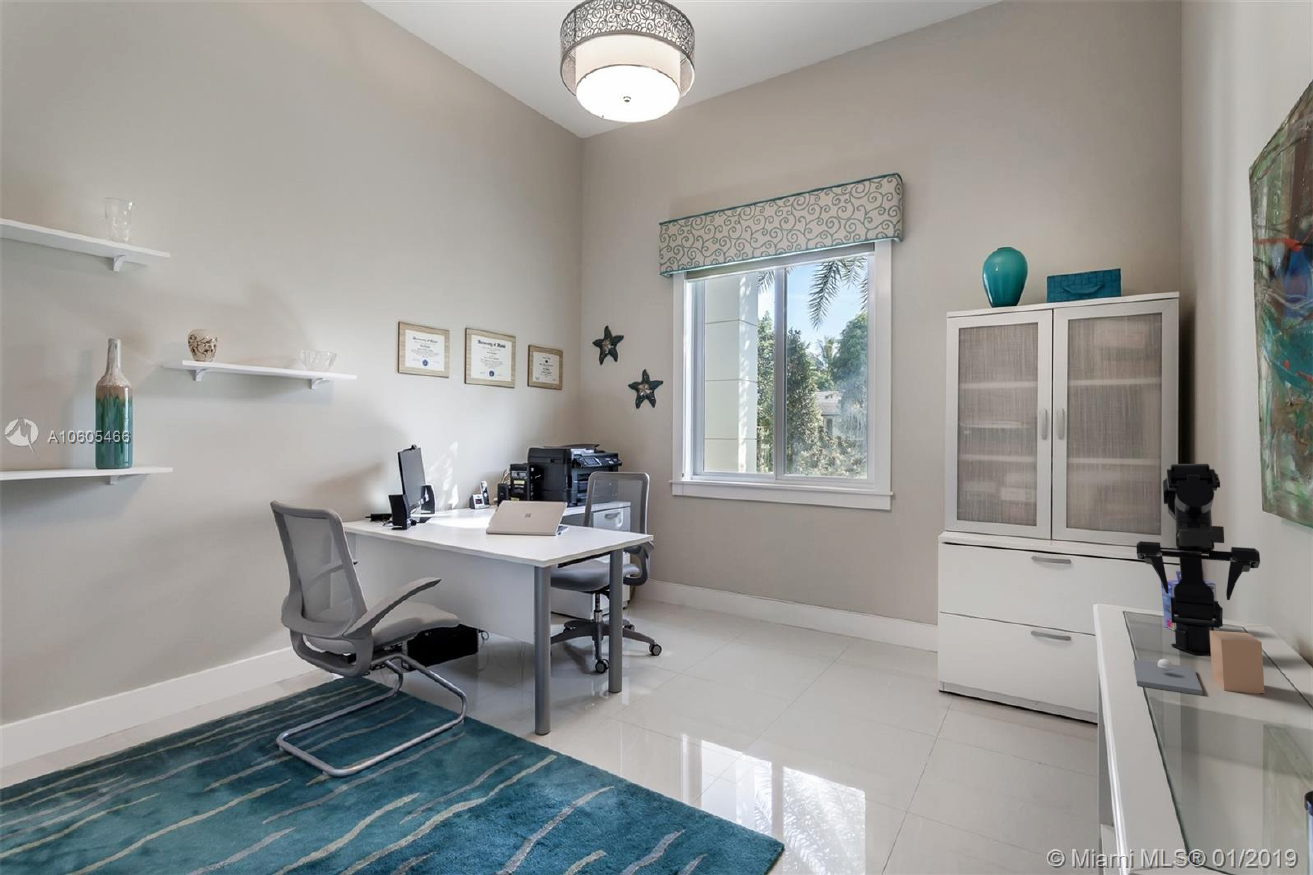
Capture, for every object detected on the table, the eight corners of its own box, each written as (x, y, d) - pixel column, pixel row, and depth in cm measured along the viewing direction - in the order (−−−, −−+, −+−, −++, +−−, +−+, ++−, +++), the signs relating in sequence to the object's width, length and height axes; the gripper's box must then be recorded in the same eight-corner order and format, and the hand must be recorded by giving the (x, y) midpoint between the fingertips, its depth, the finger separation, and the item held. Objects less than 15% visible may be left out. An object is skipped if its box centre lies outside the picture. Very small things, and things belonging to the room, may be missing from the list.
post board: (1133, 663, 136) (1132, 645, 136) (1193, 671, 131) (1192, 652, 131) (1137, 685, 125) (1136, 665, 125) (1202, 695, 119) (1201, 674, 119)
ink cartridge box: (1205, 626, 159) (1202, 570, 159) (1220, 633, 154) (1217, 574, 154) (1162, 625, 161) (1159, 570, 161) (1175, 632, 156) (1172, 575, 156)
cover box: (1212, 679, 126) (1209, 630, 126) (1250, 682, 124) (1248, 633, 124) (1224, 690, 121) (1221, 639, 121) (1264, 694, 118) (1261, 642, 118)
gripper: (1134, 508, 128) (1135, 582, 124) (1259, 512, 116) (1266, 595, 112) (1137, 522, 136) (1138, 593, 131) (1254, 528, 124) (1260, 606, 119)
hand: (1197, 596), depth 123 cm, fingers open, 9 cm apart
